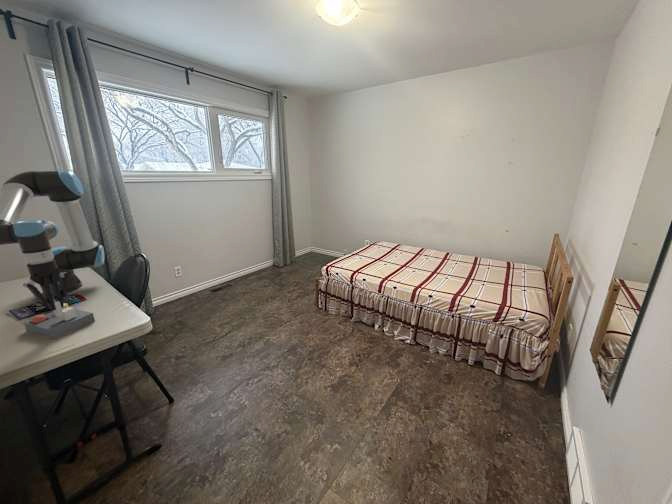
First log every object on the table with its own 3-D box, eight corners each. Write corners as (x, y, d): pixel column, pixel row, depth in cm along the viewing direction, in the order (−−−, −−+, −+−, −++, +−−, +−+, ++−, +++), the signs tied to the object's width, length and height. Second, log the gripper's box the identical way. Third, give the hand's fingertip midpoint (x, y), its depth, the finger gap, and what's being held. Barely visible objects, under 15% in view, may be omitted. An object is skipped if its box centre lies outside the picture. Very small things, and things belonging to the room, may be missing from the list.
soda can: (58, 310, 127) (50, 287, 123) (46, 309, 128) (38, 286, 125) (74, 303, 133) (67, 281, 130) (63, 302, 134) (56, 280, 131)
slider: (61, 319, 111) (58, 310, 110) (72, 315, 114) (69, 306, 113) (66, 320, 110) (63, 312, 109) (77, 316, 113) (74, 307, 112)
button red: (30, 324, 110) (28, 318, 109) (43, 319, 113) (41, 313, 113) (37, 326, 109) (34, 319, 108) (49, 321, 112) (47, 315, 111)
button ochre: (54, 312, 117) (52, 306, 116) (65, 308, 120) (63, 302, 120) (60, 314, 116) (58, 308, 115) (71, 309, 119) (69, 303, 118)
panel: (27, 331, 110) (23, 322, 109) (68, 314, 123) (65, 306, 122) (54, 339, 105) (51, 330, 104) (95, 321, 118) (92, 312, 117)
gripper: (23, 268, 95) (44, 325, 102) (68, 257, 107) (84, 309, 114) (10, 265, 97) (32, 322, 104) (56, 255, 109) (72, 306, 116)
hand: (59, 315), depth 109 cm, fingers closed
